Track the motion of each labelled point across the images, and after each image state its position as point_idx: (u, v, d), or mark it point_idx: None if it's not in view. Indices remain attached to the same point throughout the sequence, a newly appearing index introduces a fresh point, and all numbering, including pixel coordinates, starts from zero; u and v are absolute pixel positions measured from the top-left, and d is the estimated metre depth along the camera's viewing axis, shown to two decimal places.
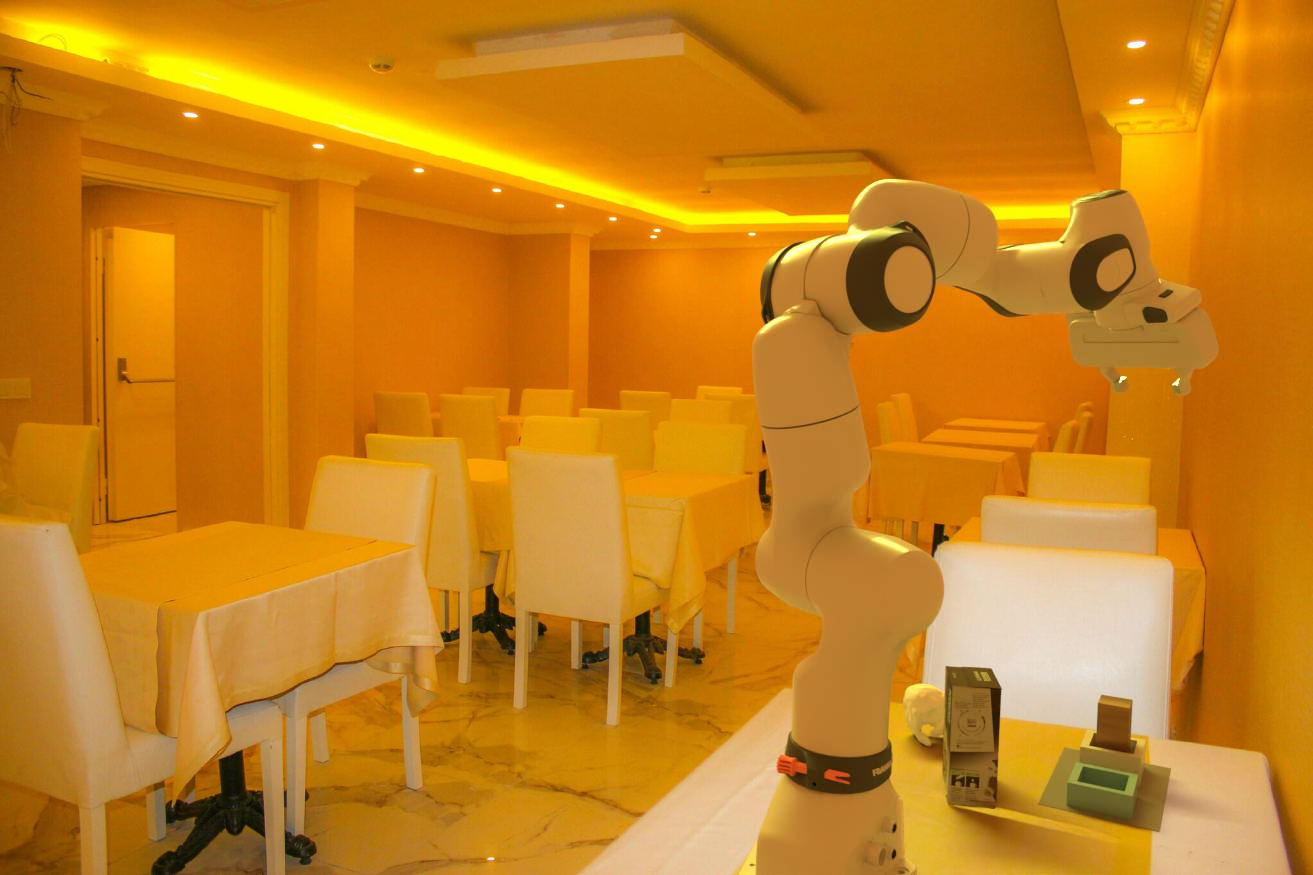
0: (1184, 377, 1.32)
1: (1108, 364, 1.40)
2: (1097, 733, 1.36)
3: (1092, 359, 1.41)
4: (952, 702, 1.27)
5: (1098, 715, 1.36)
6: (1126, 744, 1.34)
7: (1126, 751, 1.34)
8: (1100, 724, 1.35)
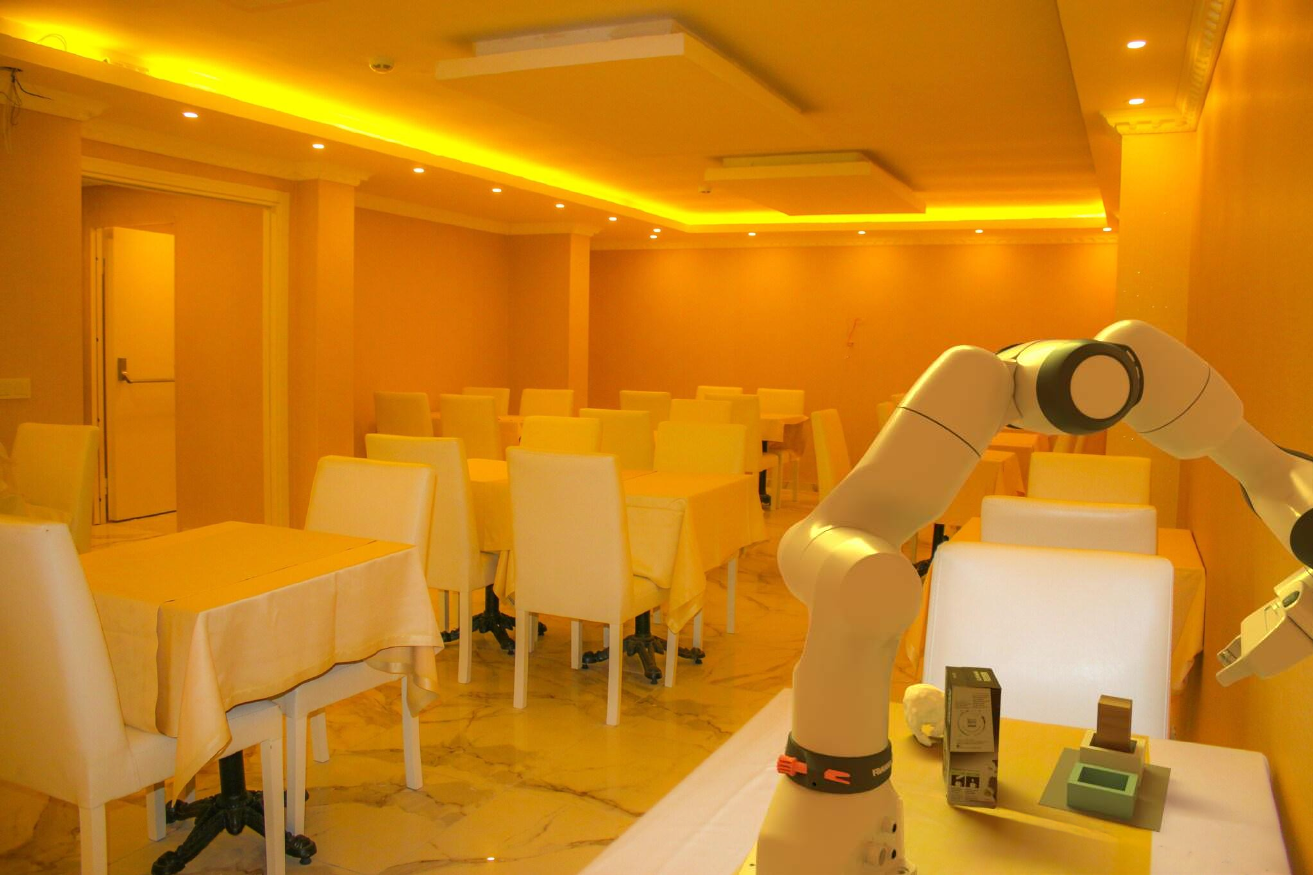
0: (1233, 664, 1.23)
1: (1242, 629, 1.32)
2: (1097, 733, 1.36)
3: (1246, 622, 1.33)
4: (952, 702, 1.27)
5: (1098, 715, 1.36)
6: (1126, 744, 1.34)
7: (1126, 751, 1.34)
8: (1100, 724, 1.35)
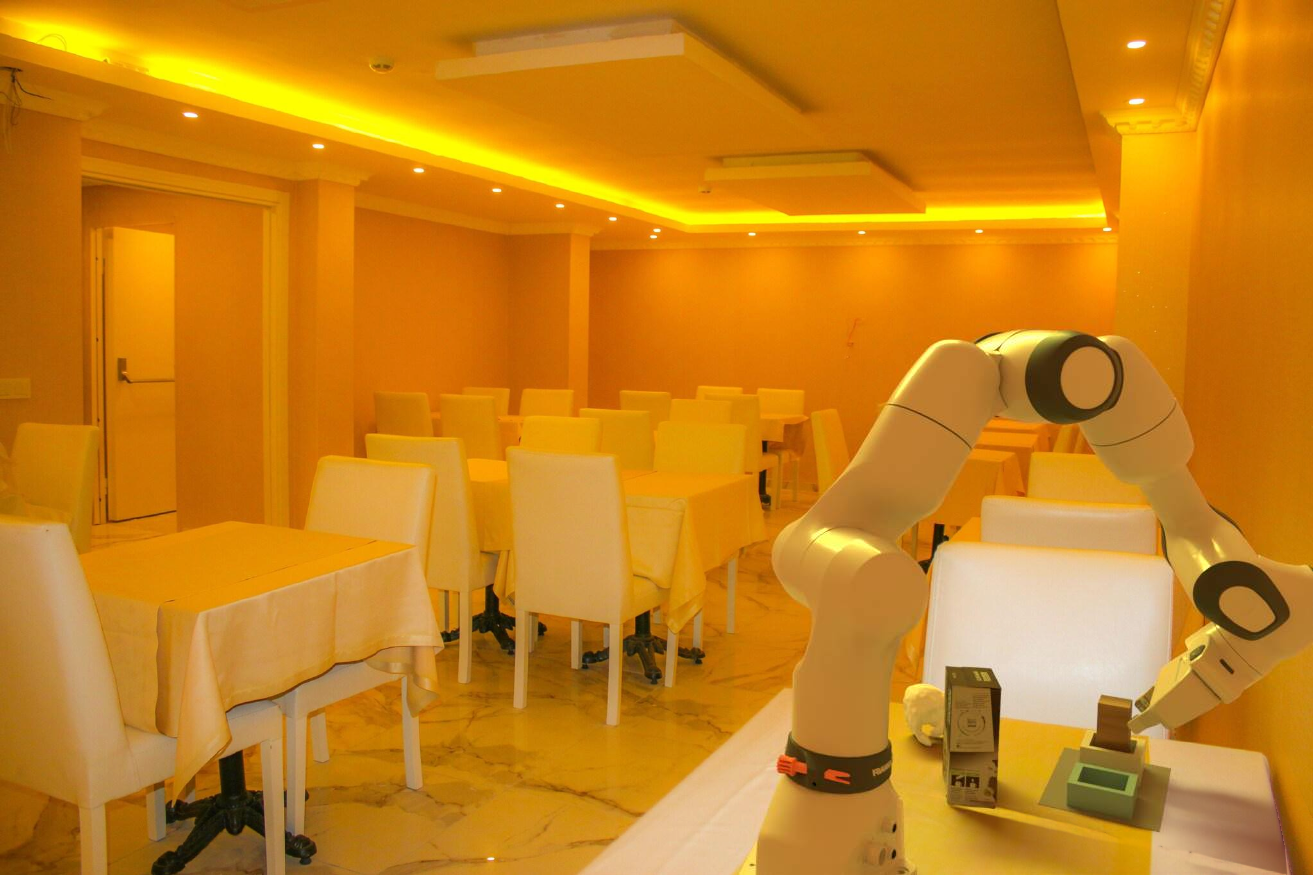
0: (1143, 713, 1.29)
1: (1158, 677, 1.37)
2: (1097, 733, 1.36)
3: (1163, 670, 1.39)
4: (952, 702, 1.27)
5: (1098, 715, 1.36)
6: (1126, 744, 1.34)
7: (1126, 751, 1.34)
8: (1100, 724, 1.35)
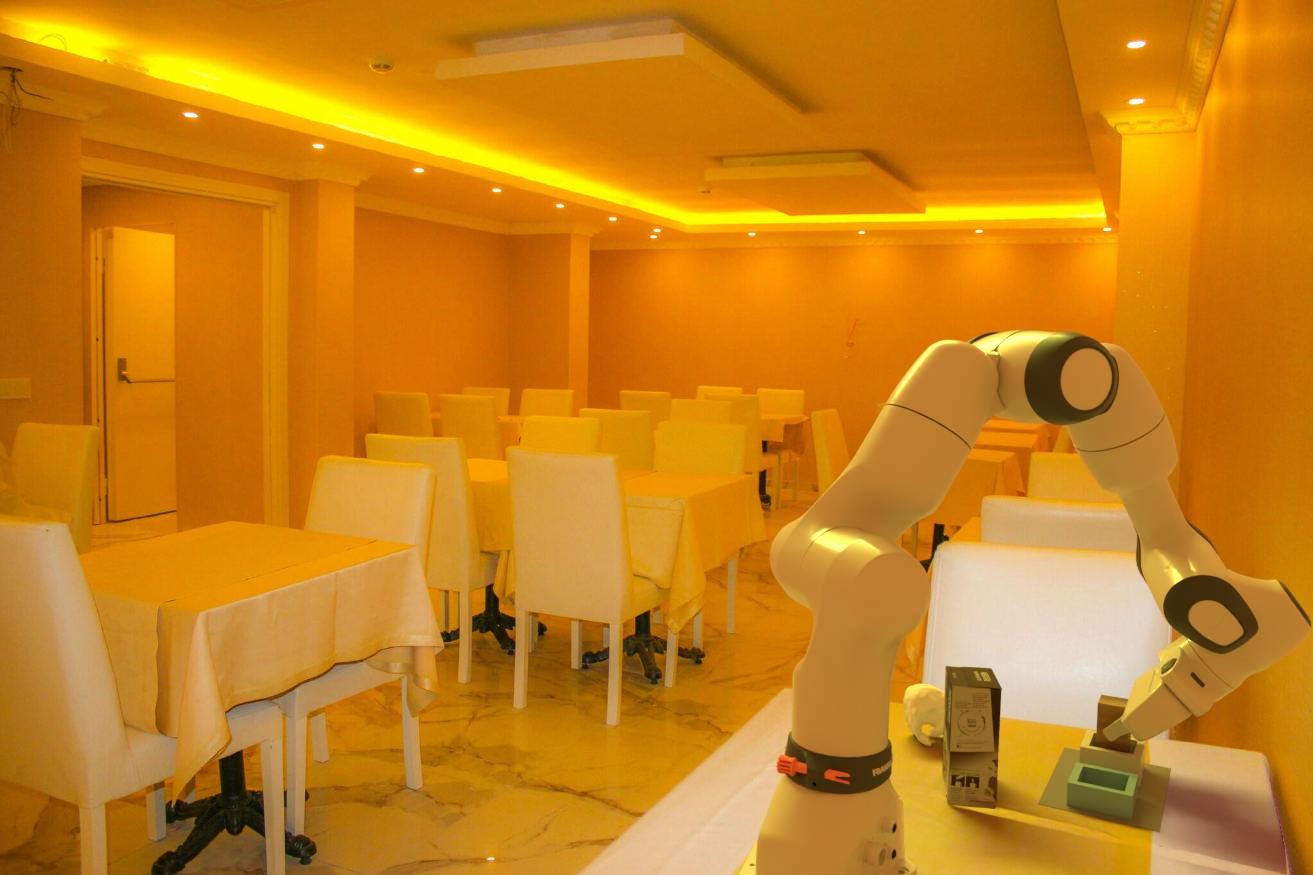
0: (1118, 720, 1.32)
1: (1132, 689, 1.39)
2: (1097, 733, 1.36)
3: (1138, 681, 1.40)
4: (952, 702, 1.27)
5: (1098, 715, 1.36)
6: (1126, 744, 1.34)
7: (1126, 751, 1.34)
8: (1100, 724, 1.35)
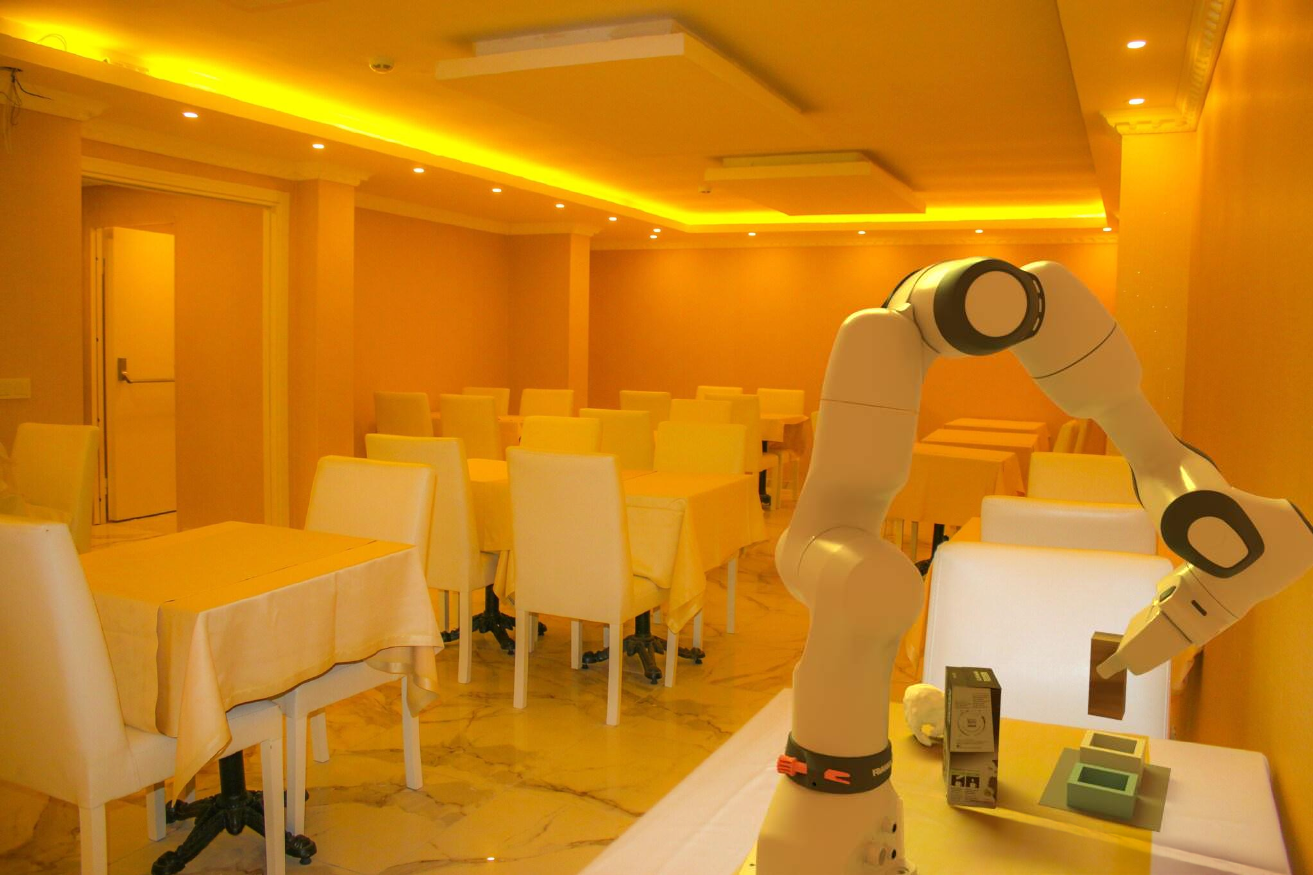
0: (1112, 655, 1.22)
1: (1128, 625, 1.28)
2: (1090, 671, 1.25)
3: (1134, 618, 1.30)
4: (952, 702, 1.27)
5: (1091, 652, 1.25)
6: (1122, 682, 1.24)
7: (1122, 690, 1.24)
8: (1094, 662, 1.25)
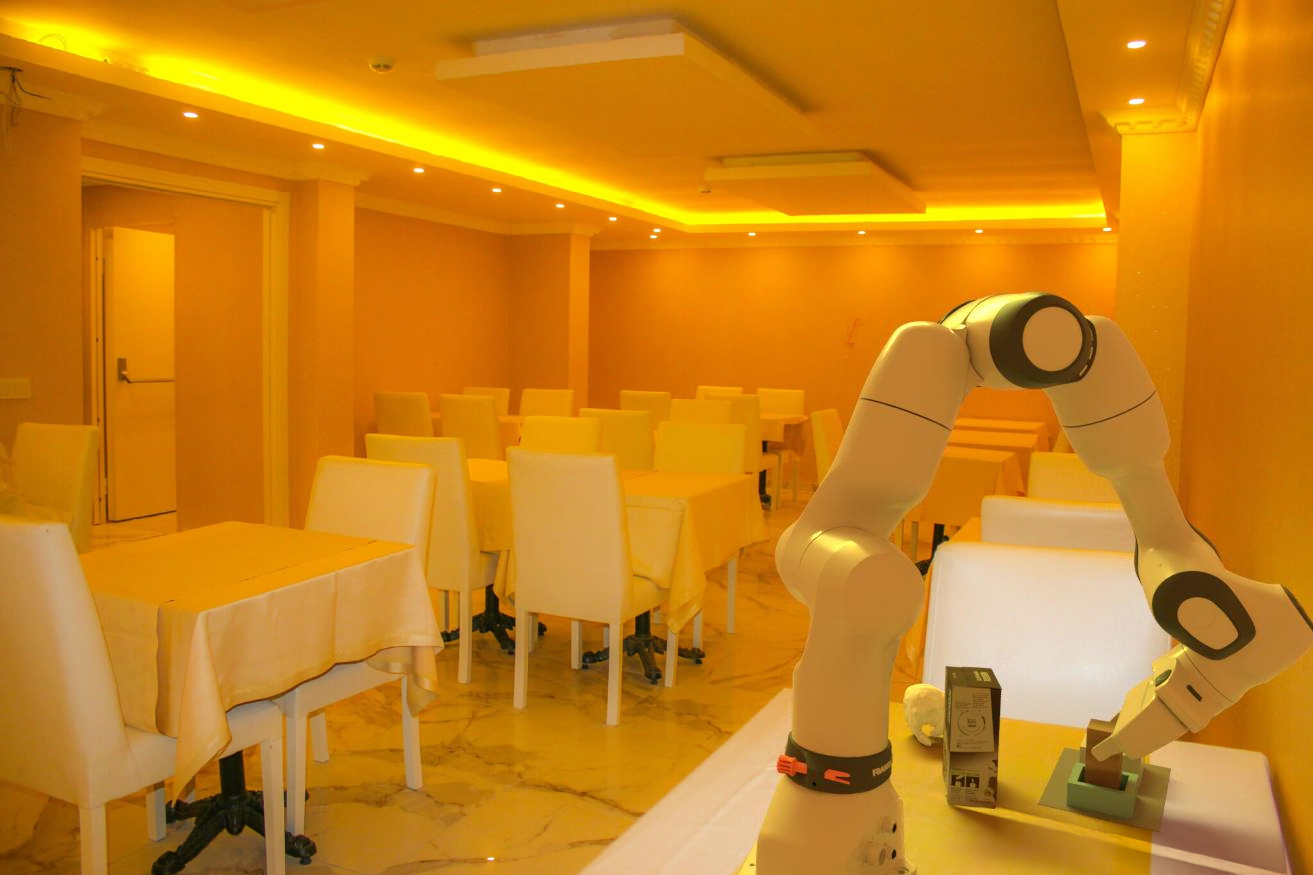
0: (1107, 739, 1.22)
1: (1125, 702, 1.29)
2: (1086, 760, 1.26)
3: (1130, 693, 1.31)
4: (952, 702, 1.27)
5: (1087, 741, 1.26)
6: (1117, 773, 1.24)
7: (1117, 780, 1.25)
8: (1089, 751, 1.26)
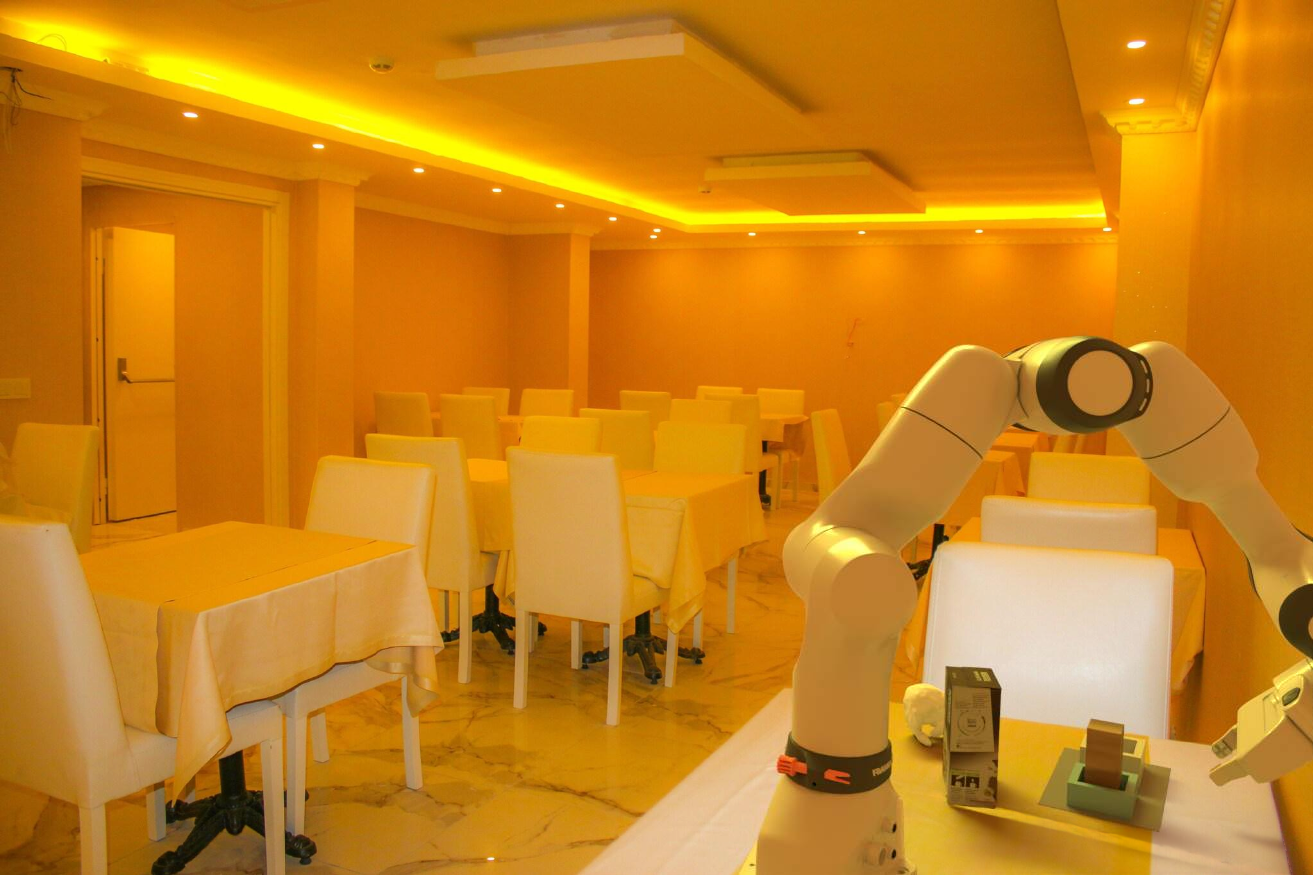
0: (1228, 763, 1.15)
1: (1239, 720, 1.23)
2: (1086, 760, 1.26)
3: (1244, 711, 1.24)
4: (952, 702, 1.27)
5: (1087, 741, 1.26)
6: (1117, 773, 1.24)
7: (1117, 780, 1.25)
8: (1089, 751, 1.26)
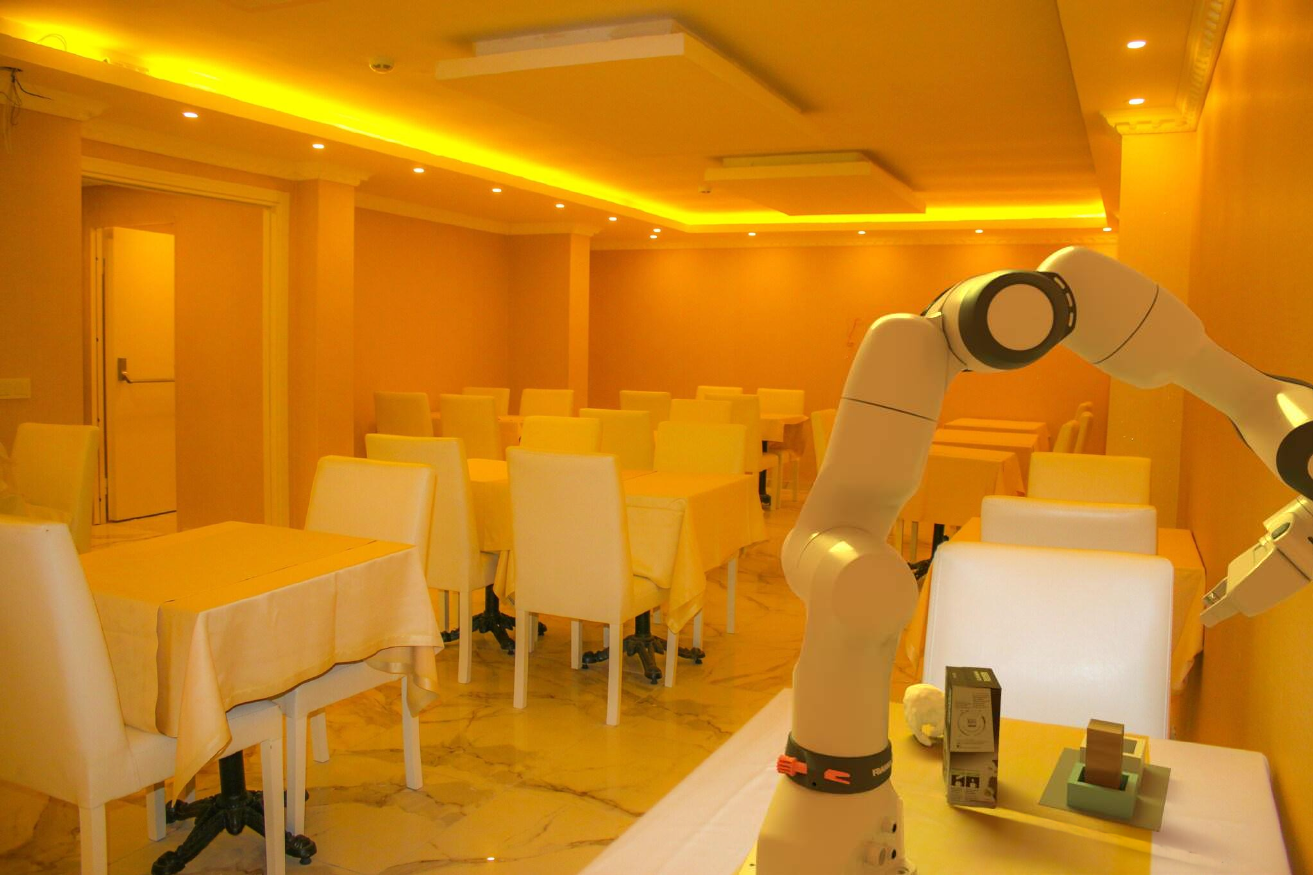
0: (1218, 602, 1.14)
1: (1229, 570, 1.22)
2: (1086, 760, 1.26)
3: (1234, 562, 1.24)
4: (952, 702, 1.27)
5: (1087, 741, 1.26)
6: (1117, 773, 1.24)
7: (1117, 780, 1.25)
8: (1089, 751, 1.26)
